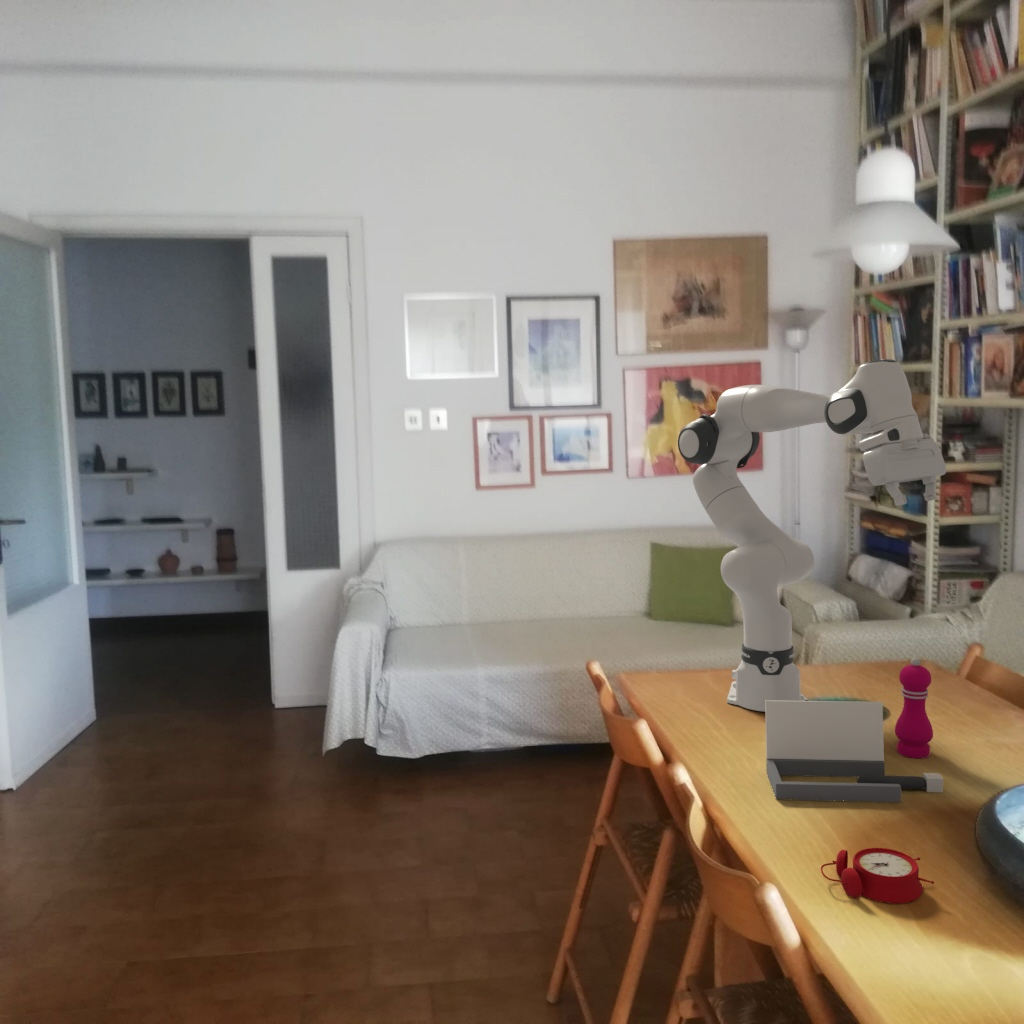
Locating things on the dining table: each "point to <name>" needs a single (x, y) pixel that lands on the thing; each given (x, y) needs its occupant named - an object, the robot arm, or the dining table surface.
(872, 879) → the alarm clock
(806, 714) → the cover
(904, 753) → the pepper mill
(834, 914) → the dining table surface
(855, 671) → the dining table surface
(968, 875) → the dining table surface
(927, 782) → the white-capped dark rod
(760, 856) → the dining table surface
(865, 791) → the grey flat frame
